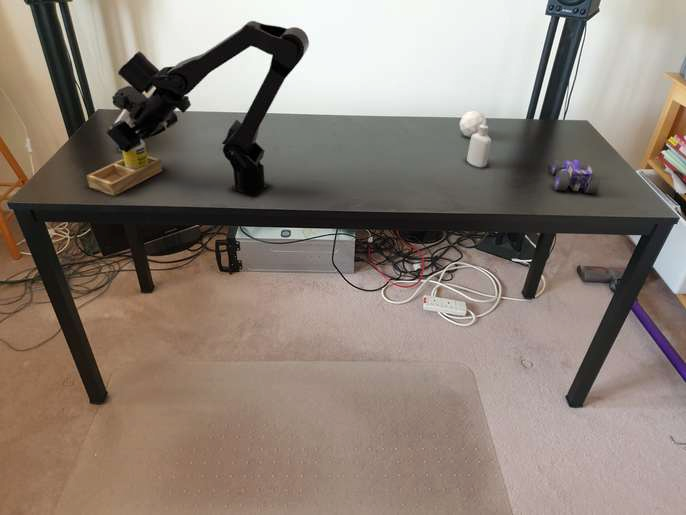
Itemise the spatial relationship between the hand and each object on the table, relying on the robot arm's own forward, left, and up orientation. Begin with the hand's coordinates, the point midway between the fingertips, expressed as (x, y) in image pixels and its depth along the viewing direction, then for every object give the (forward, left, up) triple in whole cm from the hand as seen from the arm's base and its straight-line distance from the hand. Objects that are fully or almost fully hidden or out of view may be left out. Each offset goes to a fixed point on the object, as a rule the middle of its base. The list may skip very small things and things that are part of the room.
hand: (128, 144), depth 127 cm
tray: (-1, +4, -7) cm, 8 cm away
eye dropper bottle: (-72, -52, -7) cm, 90 cm away
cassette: (+15, -11, -7) cm, 20 cm away
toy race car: (-96, -55, -7) cm, 111 cm away
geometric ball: (-65, -70, -7) cm, 96 cm away
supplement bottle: (-1, 0, -7) cm, 7 cm away
